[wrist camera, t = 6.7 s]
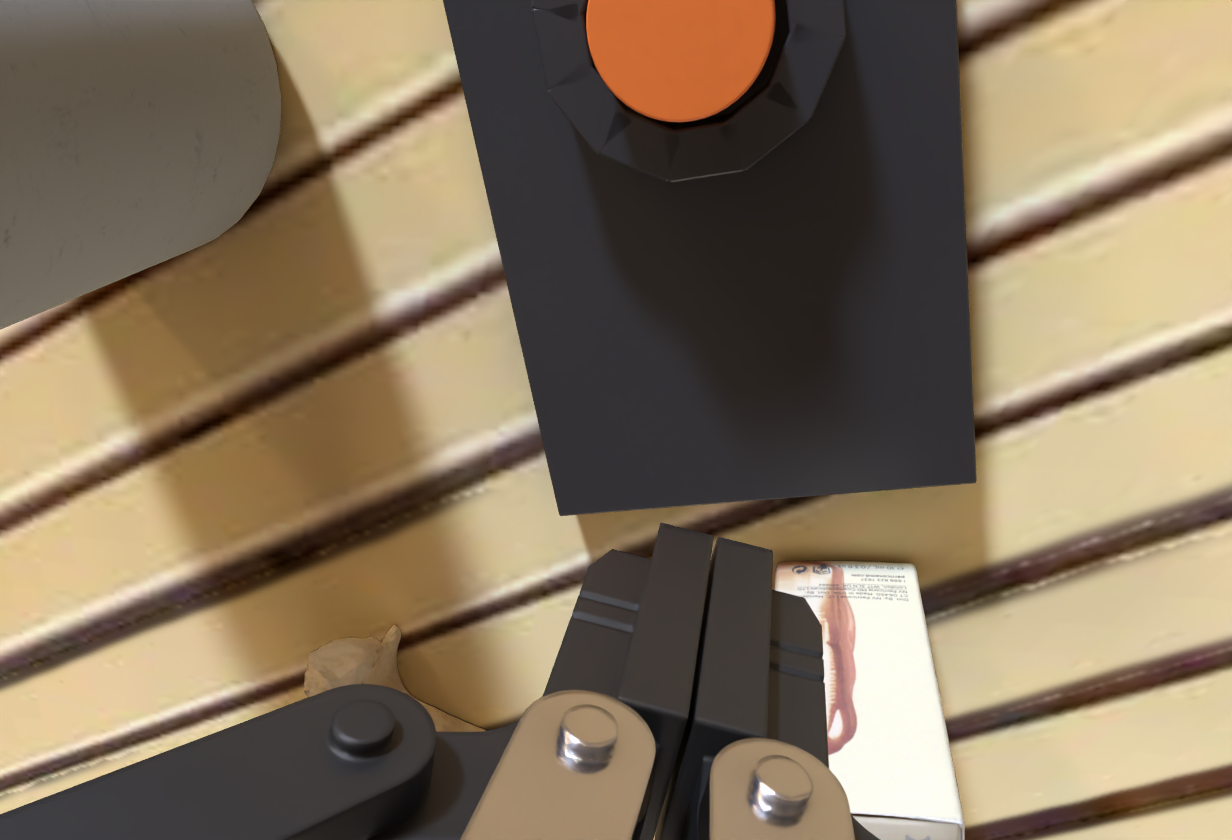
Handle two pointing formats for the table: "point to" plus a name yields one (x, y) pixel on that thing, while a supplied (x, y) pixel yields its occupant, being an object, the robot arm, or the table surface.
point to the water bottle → (125, 137)
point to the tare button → (679, 52)
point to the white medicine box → (881, 697)
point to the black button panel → (734, 258)
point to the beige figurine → (368, 672)
